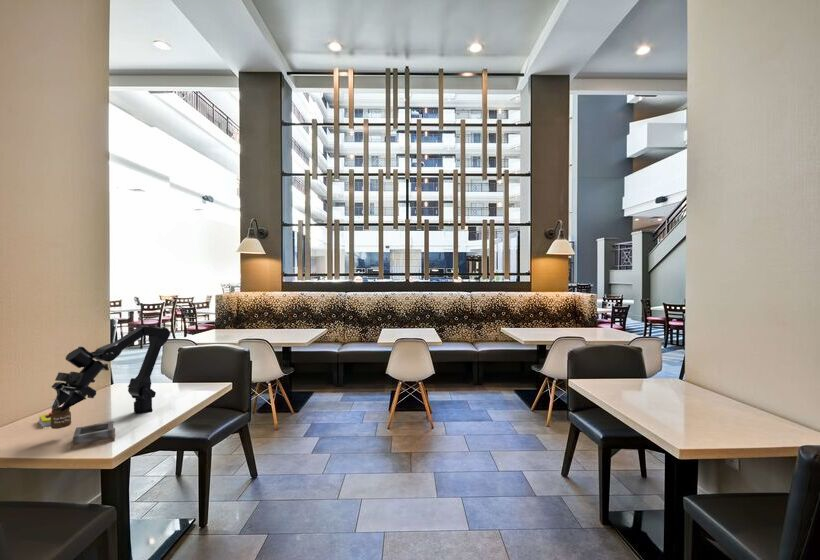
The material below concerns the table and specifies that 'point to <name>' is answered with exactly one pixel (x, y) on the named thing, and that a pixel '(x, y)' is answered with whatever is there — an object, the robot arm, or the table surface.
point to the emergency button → (46, 420)
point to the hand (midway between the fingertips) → (56, 410)
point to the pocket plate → (93, 435)
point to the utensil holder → (60, 417)
